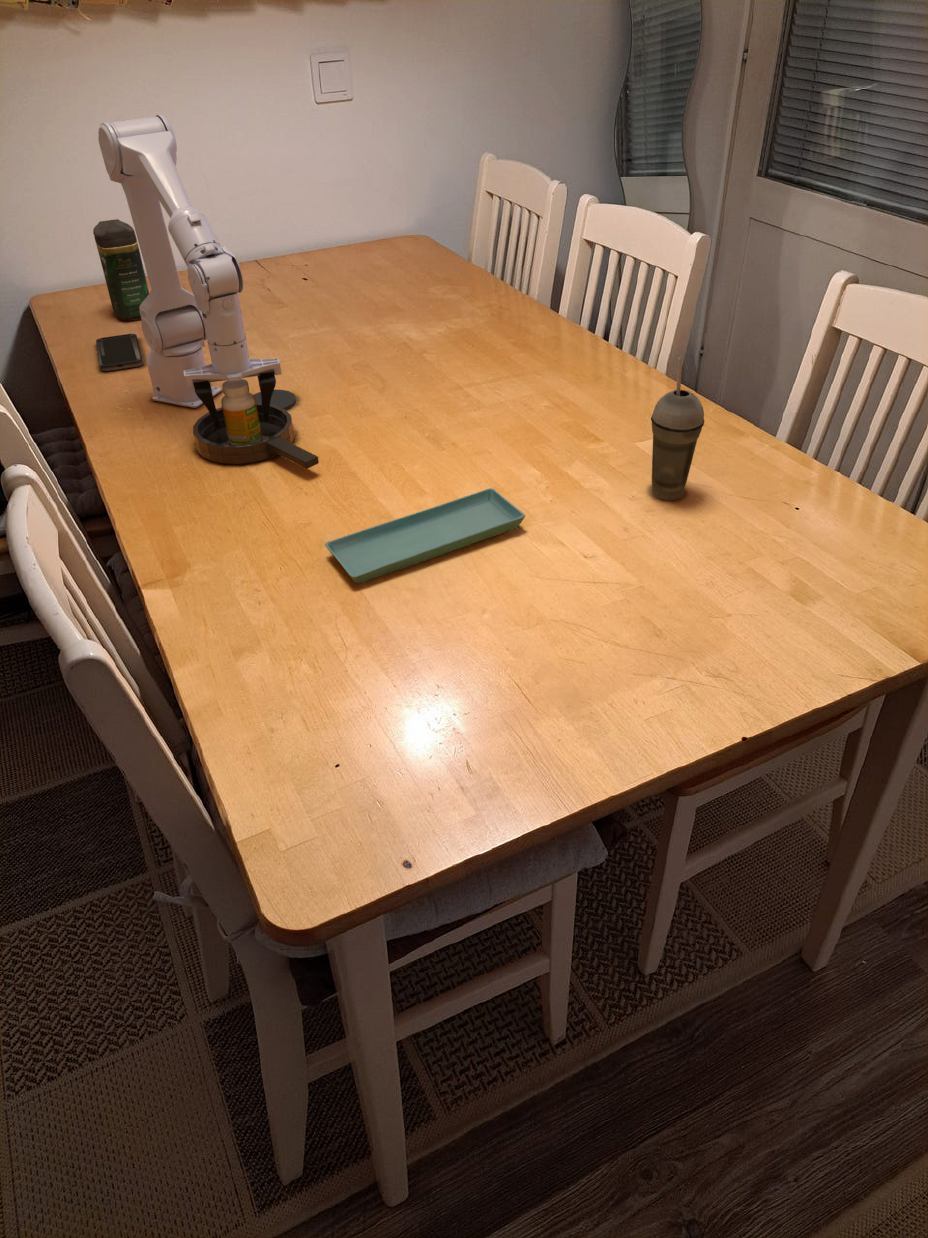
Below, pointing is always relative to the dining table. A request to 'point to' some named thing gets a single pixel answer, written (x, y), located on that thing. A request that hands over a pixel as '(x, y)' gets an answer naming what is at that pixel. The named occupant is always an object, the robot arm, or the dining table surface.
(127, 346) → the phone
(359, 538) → the teal serving tray
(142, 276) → the coffee jar
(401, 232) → the dining table surface
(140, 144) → the robot arm
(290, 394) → the coaster
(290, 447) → the pan handle
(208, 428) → the pan
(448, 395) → the dining table surface
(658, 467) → the beverage cup
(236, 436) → the supplement bottle
